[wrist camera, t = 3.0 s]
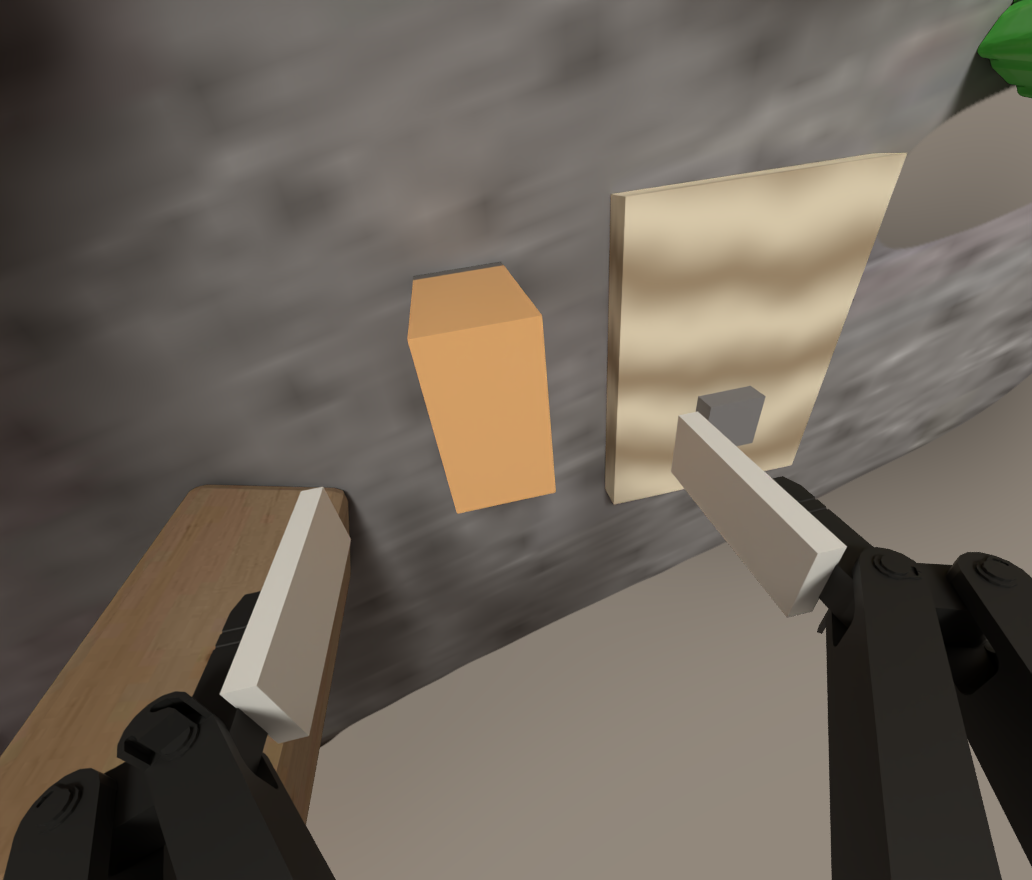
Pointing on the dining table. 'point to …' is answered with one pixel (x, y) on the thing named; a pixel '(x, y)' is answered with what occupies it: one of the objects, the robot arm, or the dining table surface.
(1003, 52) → the fruit basket
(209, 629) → the wooden block
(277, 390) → the dining table surface
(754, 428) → the gray square block
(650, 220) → the birch board
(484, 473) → the block
